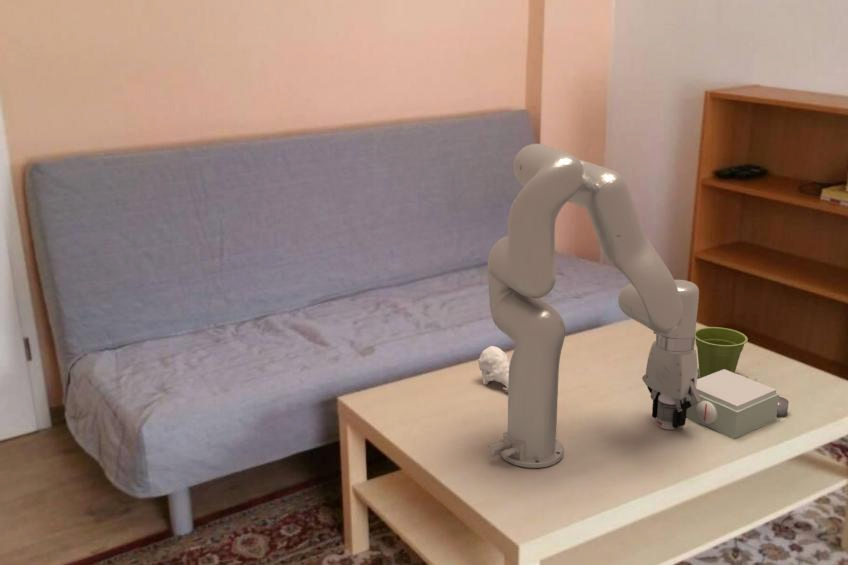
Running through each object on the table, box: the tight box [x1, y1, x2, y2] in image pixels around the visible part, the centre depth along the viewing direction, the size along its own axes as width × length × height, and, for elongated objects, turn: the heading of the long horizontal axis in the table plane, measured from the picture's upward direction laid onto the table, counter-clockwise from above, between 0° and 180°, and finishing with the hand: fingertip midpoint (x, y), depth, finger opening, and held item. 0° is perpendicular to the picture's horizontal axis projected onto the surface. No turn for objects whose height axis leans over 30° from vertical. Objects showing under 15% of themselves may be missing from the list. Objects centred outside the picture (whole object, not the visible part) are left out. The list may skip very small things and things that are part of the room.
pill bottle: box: [656, 393, 677, 430], centre depth 184 cm, size 5×5×8 cm
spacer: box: [776, 396, 790, 419], centre depth 190 cm, size 4×4×3 cm
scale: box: [682, 369, 780, 439], centre depth 188 cm, size 15×14×7 cm
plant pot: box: [695, 326, 749, 379], centre depth 204 cm, size 12×12×11 cm
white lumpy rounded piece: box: [477, 345, 510, 393], centre depth 203 cm, size 6×8×12 cm
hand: (668, 420), depth 185 cm, fingers closed on pill bottle, 4 cm apart
